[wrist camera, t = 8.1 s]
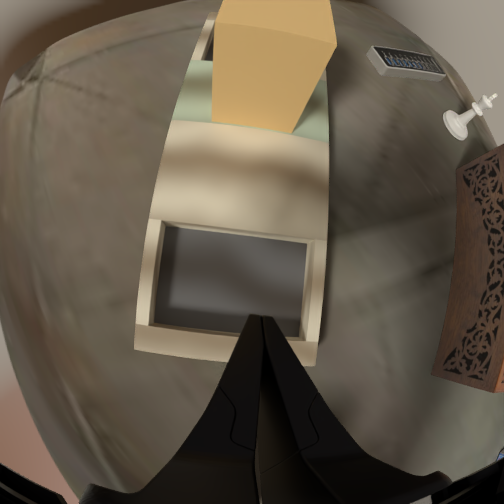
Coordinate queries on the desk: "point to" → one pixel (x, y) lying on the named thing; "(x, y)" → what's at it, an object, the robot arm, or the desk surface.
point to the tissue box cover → (476, 280)
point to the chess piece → (465, 117)
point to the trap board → (234, 226)
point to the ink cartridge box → (501, 454)
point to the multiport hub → (405, 64)
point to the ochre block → (269, 60)
